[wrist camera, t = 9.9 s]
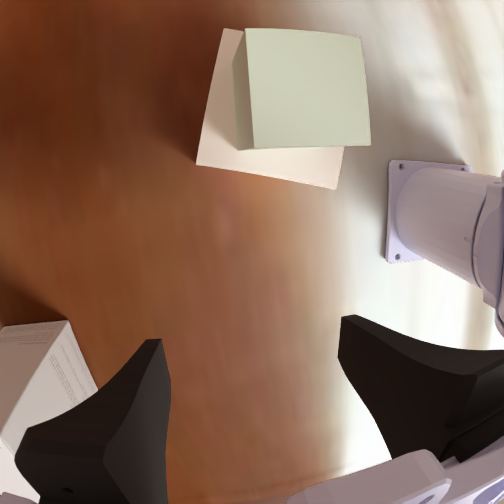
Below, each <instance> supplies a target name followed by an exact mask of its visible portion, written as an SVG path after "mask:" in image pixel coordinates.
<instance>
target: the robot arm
mask: <svg viewBox="0 0 504 504" xmlns="http://www.w3.org/2000/svg"><path fill="white" fill-rule="evenodd" d="M400 164H401V166H402V168H401V169H399V165H400ZM461 169H462V171H461ZM397 254H398V256H397V258H395V256H396V255H397ZM385 259H386V261H387V262H389V263H400V262H407V261H414V260H421V259H426V260H428V261H430V262H432V263H434V264H436V265H438V266H440V267H442V268H444V269H446V270H447V271H449V272H451V273H453V274H455V275H457V276H459V277H460V278H462V279H464V280H466V281H468V282H470V283H471V284H473V285H475V286H477V287H479V288H480V289H482V290H483V295H484V299H483V301H484V302H485V303H486V304H488V305H490V306H491V307H493V308H495V309H496V310H495V324H496V327H497V329H498V331H499V332H500V334H501V335H502V336H503V337H504V170H503V171H502V173H501V177H496V176H490V175H484V174H478V173H473V169H472V167H471V166H467V165H458V164H447V163H436V162H423V161H408V160H392V161H390V163H389V194H388V223H387V240H386V254H385ZM338 359H339V362H340V364H341V366H342V369H343V371H344V373H345V375H346V377H347V378H348V380H349V381H350V383H351V384H352V386H353V387H354V389H355V390H356V392H357V393H358V395H359V396H360V398H361V399H362V401H363V402H364V404H365V405H366V407H367V408H368V410H369V411H370V413H371V415H372V416H373V418H374V420H375V422H376V424H377V426H378V428H379V430H380V432H381V434H382V436H383V439H384V441H385V443H386V445H387V448H388V450H389V452H390V455H391V458H392V460H389V461H387V462H384V463H381V464H379V465H376V466H373V467H370V468H367V469H364V470H361V471H358V472H355V473H352V474H348V475H345V476H342V477H338V478H335V479H331V480H328V481H324V482H321V483H319V484H316V485H313V486H310V487H308V488H305V489H303V490H301V491H300V492H298V493H297V494H295V495H293V496H292V497H290V498H289V499H288V500H287V501H286V503H285V504H497V503H498V502H499V501H500V500H502V499H503V498H504V350H466V349H457V348H451V347H445V346H440V345H435V344H431V343H428V342H424V341H421V340H417V339H414V338H412V337H409V336H406V335H403V334H401V333H398V332H396V331H393V330H391V329H389V328H386V327H384V326H382V325H380V324H377V323H375V322H373V321H370V320H368V319H366V318H363V317H361V316H358V315H355V314H354V315H349V316H343V317H341V328H340V339H339V348H338ZM170 403H171V379H170V375H169V371H168V367H167V362H166V358H165V353H164V349H163V344H162V339H148V340H145V342H144V343H143V344H142V345H141V346H140V347H139V349H138V350H137V351H136V352H135V353H134V355H133V356H132V357H131V358H130V359H129V361H128V362H127V363H126V364H125V365H124V366H123V367H122V368H121V369H120V371H119V372H118V373H117V374H116V375H115V376H114V377H113V378H112V379H111V380H110V381H109V382H108V383H106V384H105V385H104V386H103V387H102V388H101V389H99V390H98V391H97V392H96V393H94V394H93V395H92V396H90V397H89V398H87V399H86V400H84V401H83V402H81V403H80V404H78V405H77V406H75V407H74V408H72V409H70V410H68V411H66V412H65V413H63V414H61V415H59V416H56V417H54V418H52V419H50V420H47V421H45V422H42V423H39V424H37V425H34V426H31V427H28V428H27V429H26V431H25V433H24V436H23V438H22V440H21V442H20V445H19V447H18V449H17V451H16V454H15V457H14V462H15V465H16V467H17V469H18V470H19V472H20V473H21V475H22V476H23V477H24V478H25V480H26V481H27V482H28V483H29V484H30V485H31V486H32V488H33V489H34V490H35V491H36V492H37V493H38V494H39V495H40V499H39V503H38V504H168V497H167V483H166V461H165V450H166V438H167V429H168V421H169V412H170ZM0 504H37V503H36V502H34V501H32V500H30V499H27V498H24V497H21V496H17V495H14V494H11V493H7V492H2V495H1V498H0Z"/></svg>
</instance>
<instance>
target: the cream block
mask: <svg viewBox="0 0 504 504" xmlns="http://www.w3.org/2000/svg"><path fill="white" fill-rule="evenodd" d="M243 33H244V32H243V31H238V30H233V29H227V28H224V30H223V34H222V38H221V42H220V46H219V51H218V55H217V59H216V64H215V68H214V73H213V77H212V82H211V87H210V91H209V96H208V101H207V106H206V111H205V116H204V121H203V127H202V132H201V138H200V143H199V149H198V154H197V160H196V165H202V166H209V167H216V168H222V169H228V170H235V171H241V172H247V173H252V174H258V175H264V176H269V177H275V178H280V179H285V180H290V181H295V182H300V183H305V184H310V185H315V186H320V187H324V188H329V189H333V190H336V189H337V184H338V179H339V173H340V168H341V163H342V158H343V152H344V147H345V146H341V147H307V148H279V149H260V150H245V151H238V143H237V129H236V115H235V102H234V88H233V73H232V61H233V58H234V55H235V53H236V50H237V48H238V45H239V43H240V40H241V38H242V35H243Z"/></svg>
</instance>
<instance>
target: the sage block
mask: <svg viewBox="0 0 504 504" xmlns="http://www.w3.org/2000/svg"><path fill="white" fill-rule="evenodd" d="M232 73H233V88H234V102H235V115H236V129H237V143H238V151H245V150H260V149H279V148H307V147H341V146H371V134H370V118H369V106H368V94H367V84H366V75H365V67H364V59H363V52H362V45H361V38H360V37H356V36H350V35H343V34H335V33H327V32H317V31H306V30H292V29H268V28H245V30H244V33H243V35H242V38H241V40H240V43H239V45H238V48H237V50H236V53H235V55H234V58H233V61H232Z"/></svg>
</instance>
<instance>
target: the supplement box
mask: <svg viewBox="0 0 504 504" xmlns="http://www.w3.org/2000/svg"><path fill="white" fill-rule="evenodd" d="M97 391H98V389H97V387H96V385H95V383H94V380H93V378H92V376H91V374H90V372H89V369H88V367H87V365H86V363H85V360H84V358H83V356H82V353H81V351H80V349H79V346H78V344H77V341H76V339H75V336H74V334H73V331H72V329H71V326H70V323H69V321H68V320H64V321H54V322H44V323H34V324H24V325H13V326H5V327H3V328H2V329H1V331H0V495H2V492H7V493H11V494H14V495H17V496H21V497H24V498H27V499H30V500H32V501H34V502H36V503H37V504H38V503H39V499H40V495H39V494H38V493H37V492H36V491H35V490H34V489H33V488H32V486H31V485H30V484H29V483H28V482H27V481H26V480H25V478H24V477H23V476H22V475H21V473H20V472H19V470H18V469H17V467H16V465H15V462H14V457H15V454H16V451H17V449H18V447H19V445H20V442H21V440H22V438H23V436H24V433H25V431H26V429H27V428H28V427H31V426H34V425H37V424H39V423H42V422H45V421H47V420H50V419H52V418H54V417H56V416H59V415H61V414H63V413H65V412H66V411H68V410H70V409H72V408H74V407H75V406H77V405H78V404H80V403H81V402H83V401H84V400H86V399H87V398H89V397H90V396H92V395H93V394H94V393H96V392H97Z"/></svg>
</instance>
